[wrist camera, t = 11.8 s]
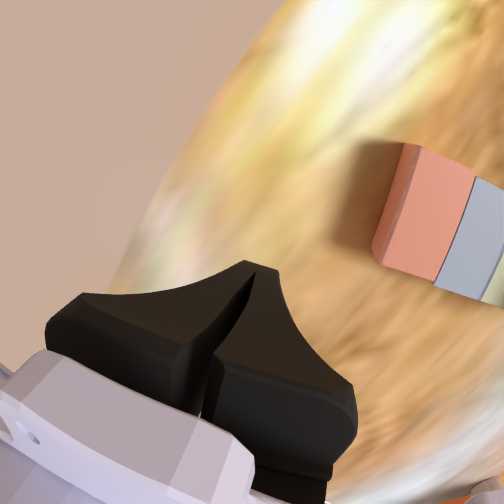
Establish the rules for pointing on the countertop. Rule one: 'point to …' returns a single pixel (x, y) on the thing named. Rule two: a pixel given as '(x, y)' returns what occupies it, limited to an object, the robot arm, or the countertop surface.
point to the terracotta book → (421, 212)
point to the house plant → (487, 486)
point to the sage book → (496, 287)
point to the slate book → (475, 243)
